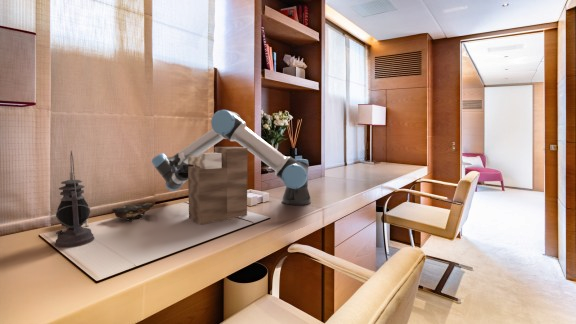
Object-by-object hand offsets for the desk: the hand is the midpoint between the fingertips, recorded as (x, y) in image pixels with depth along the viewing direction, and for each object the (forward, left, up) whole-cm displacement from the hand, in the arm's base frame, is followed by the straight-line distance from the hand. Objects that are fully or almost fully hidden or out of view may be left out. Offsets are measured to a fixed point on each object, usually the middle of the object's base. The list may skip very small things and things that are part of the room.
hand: (198, 154), depth 129 cm
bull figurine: (+44, +2, -27) cm, 52 cm away
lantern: (+41, +20, -27) cm, 53 cm away
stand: (-8, +6, -27) cm, 28 cm away
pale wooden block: (-1, +3, -5) cm, 6 cm away
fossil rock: (+26, -3, -27) cm, 37 cm away
